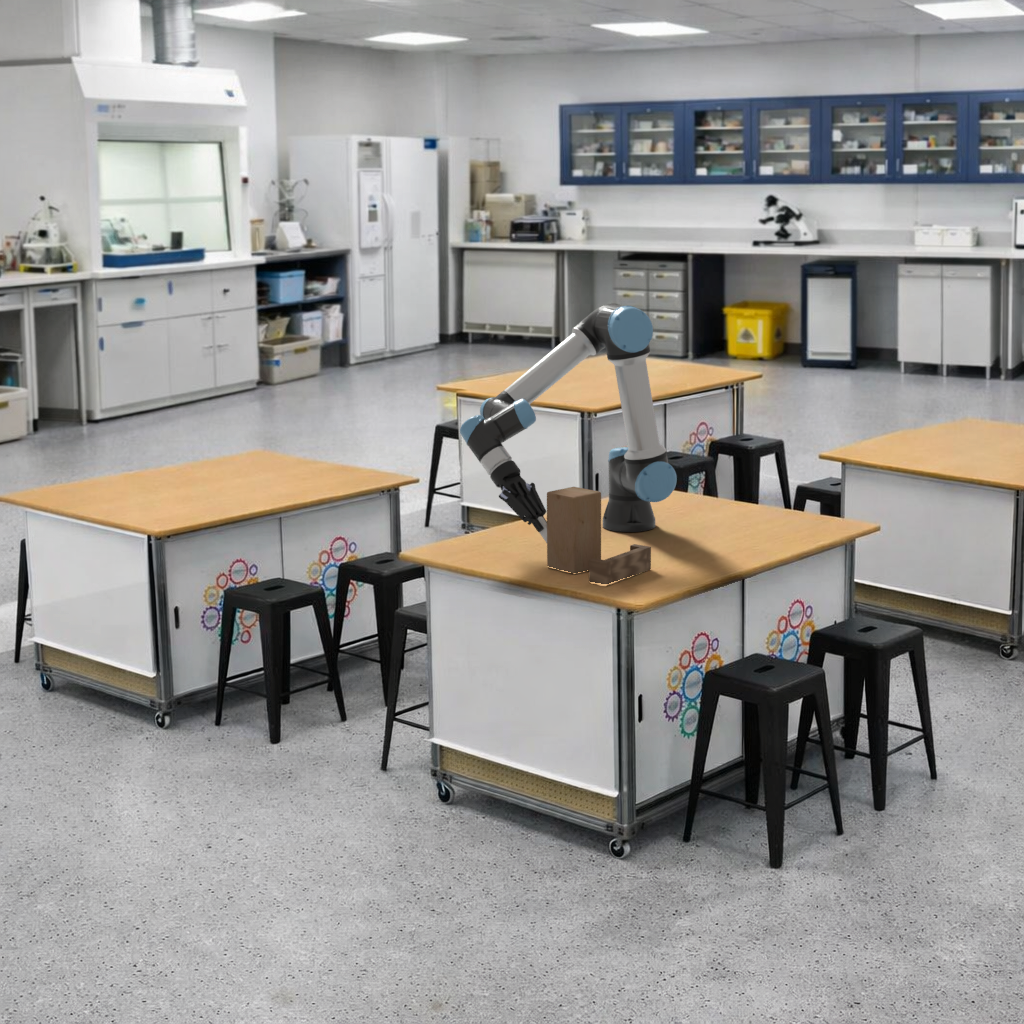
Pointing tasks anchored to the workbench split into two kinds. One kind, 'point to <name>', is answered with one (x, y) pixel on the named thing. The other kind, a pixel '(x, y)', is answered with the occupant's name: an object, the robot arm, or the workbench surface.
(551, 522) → the wooden block
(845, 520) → the workbench surface
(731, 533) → the workbench surface
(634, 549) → the stop rail
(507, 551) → the workbench surface
